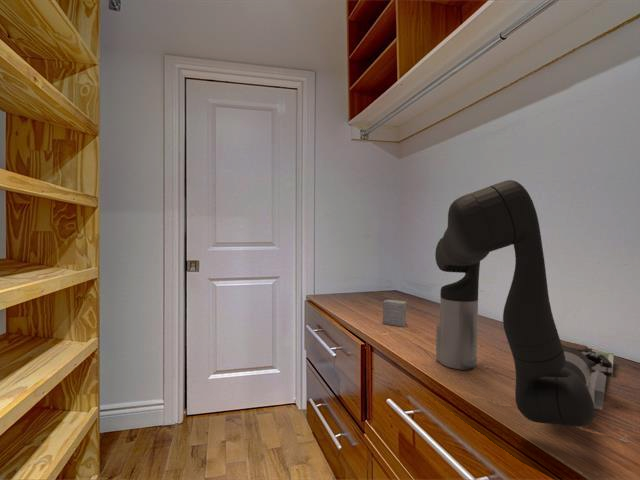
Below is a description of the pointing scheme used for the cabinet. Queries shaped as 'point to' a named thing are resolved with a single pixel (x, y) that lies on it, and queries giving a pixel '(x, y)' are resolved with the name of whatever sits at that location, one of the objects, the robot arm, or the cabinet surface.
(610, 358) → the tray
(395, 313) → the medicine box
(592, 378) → the slot board
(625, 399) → the cabinet surface
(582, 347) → the wooden block
